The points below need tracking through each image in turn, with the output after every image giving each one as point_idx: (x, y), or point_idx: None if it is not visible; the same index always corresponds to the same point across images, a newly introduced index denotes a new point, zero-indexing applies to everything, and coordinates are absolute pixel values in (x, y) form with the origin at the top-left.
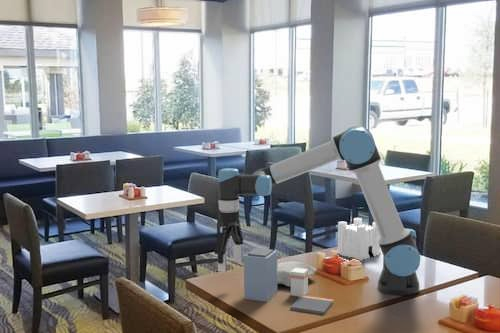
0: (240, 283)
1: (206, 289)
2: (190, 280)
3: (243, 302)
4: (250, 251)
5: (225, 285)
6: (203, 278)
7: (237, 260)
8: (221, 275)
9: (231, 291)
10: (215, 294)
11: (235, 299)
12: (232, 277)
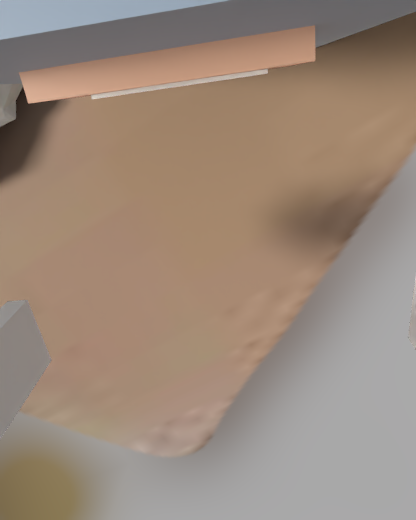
0: (67, 237)
1: (258, 346)
2: (183, 455)
3: None
4: (5, 27)
5: (149, 294)
6: (126, 425)
7: (32, 332)
8: None
9: (220, 212)
10: (311, 269)
11: (349, 104)
12: None
